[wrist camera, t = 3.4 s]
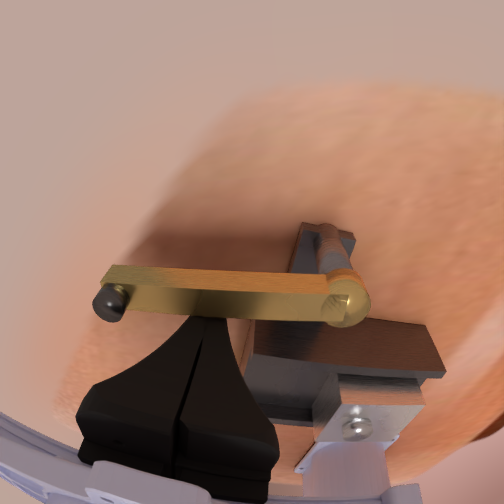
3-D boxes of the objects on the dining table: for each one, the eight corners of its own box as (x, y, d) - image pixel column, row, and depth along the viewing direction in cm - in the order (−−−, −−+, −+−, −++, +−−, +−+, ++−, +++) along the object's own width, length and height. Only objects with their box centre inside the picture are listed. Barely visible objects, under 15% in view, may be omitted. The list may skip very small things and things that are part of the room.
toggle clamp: (386, 384, 21) (397, 428, 18) (239, 368, 21) (233, 418, 17) (462, 256, 16) (496, 297, 12) (278, 213, 15) (280, 256, 12)
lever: (118, 295, 13) (99, 326, 11) (108, 257, 12) (86, 287, 10) (358, 307, 12) (369, 342, 11) (367, 268, 11) (381, 302, 10)
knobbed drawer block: (383, 408, 18) (392, 449, 15) (311, 405, 18) (314, 450, 15) (413, 369, 16) (428, 413, 13) (335, 363, 16) (343, 413, 13)
